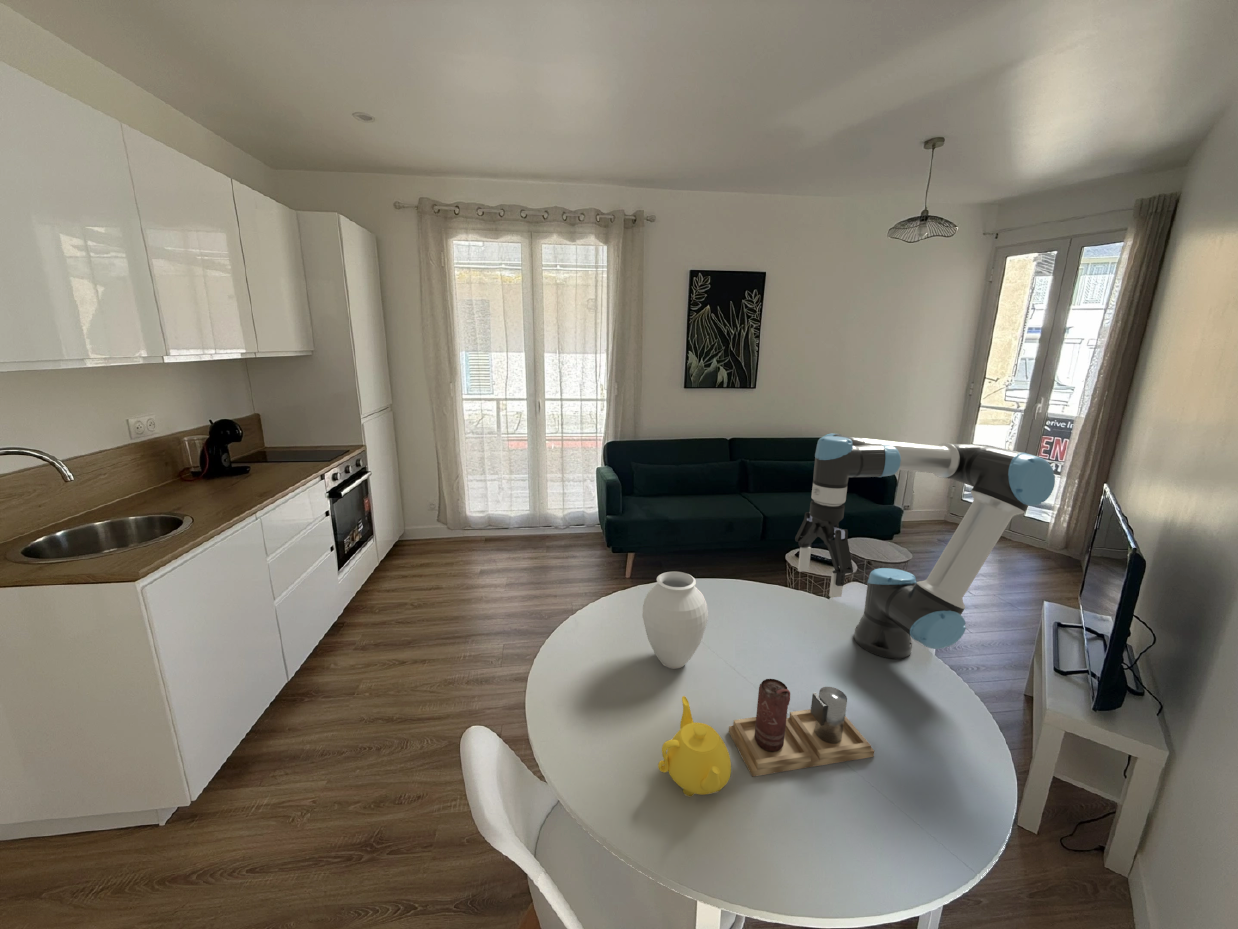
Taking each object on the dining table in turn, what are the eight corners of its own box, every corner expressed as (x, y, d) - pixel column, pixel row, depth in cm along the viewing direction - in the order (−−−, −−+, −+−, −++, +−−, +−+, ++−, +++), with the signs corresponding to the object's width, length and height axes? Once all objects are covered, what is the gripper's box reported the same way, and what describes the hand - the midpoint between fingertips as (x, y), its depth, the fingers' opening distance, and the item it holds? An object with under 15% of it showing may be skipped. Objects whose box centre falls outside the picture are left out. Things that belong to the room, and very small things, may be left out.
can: (787, 755, 101) (793, 698, 98) (756, 751, 102) (761, 695, 99) (782, 733, 107) (788, 679, 103) (752, 729, 108) (757, 675, 104)
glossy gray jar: (831, 722, 110) (836, 685, 108) (847, 742, 105) (852, 703, 102) (806, 726, 109) (810, 688, 106) (820, 746, 103) (825, 706, 101)
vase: (632, 671, 129) (633, 587, 123) (652, 636, 145) (654, 560, 139) (697, 689, 123) (701, 601, 117) (711, 650, 139) (715, 571, 133)
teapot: (646, 743, 106) (647, 699, 103) (709, 734, 108) (712, 691, 106) (672, 831, 86) (674, 779, 84) (748, 817, 89) (753, 767, 86)
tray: (838, 715, 114) (840, 705, 113) (873, 756, 103) (875, 745, 102) (728, 731, 109) (729, 720, 108) (752, 776, 98) (753, 764, 97)
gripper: (786, 487, 125) (779, 562, 130) (847, 520, 101) (835, 610, 106) (812, 486, 126) (804, 560, 131) (878, 518, 102) (865, 607, 107)
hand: (818, 583), depth 119 cm, fingers open, 13 cm apart
